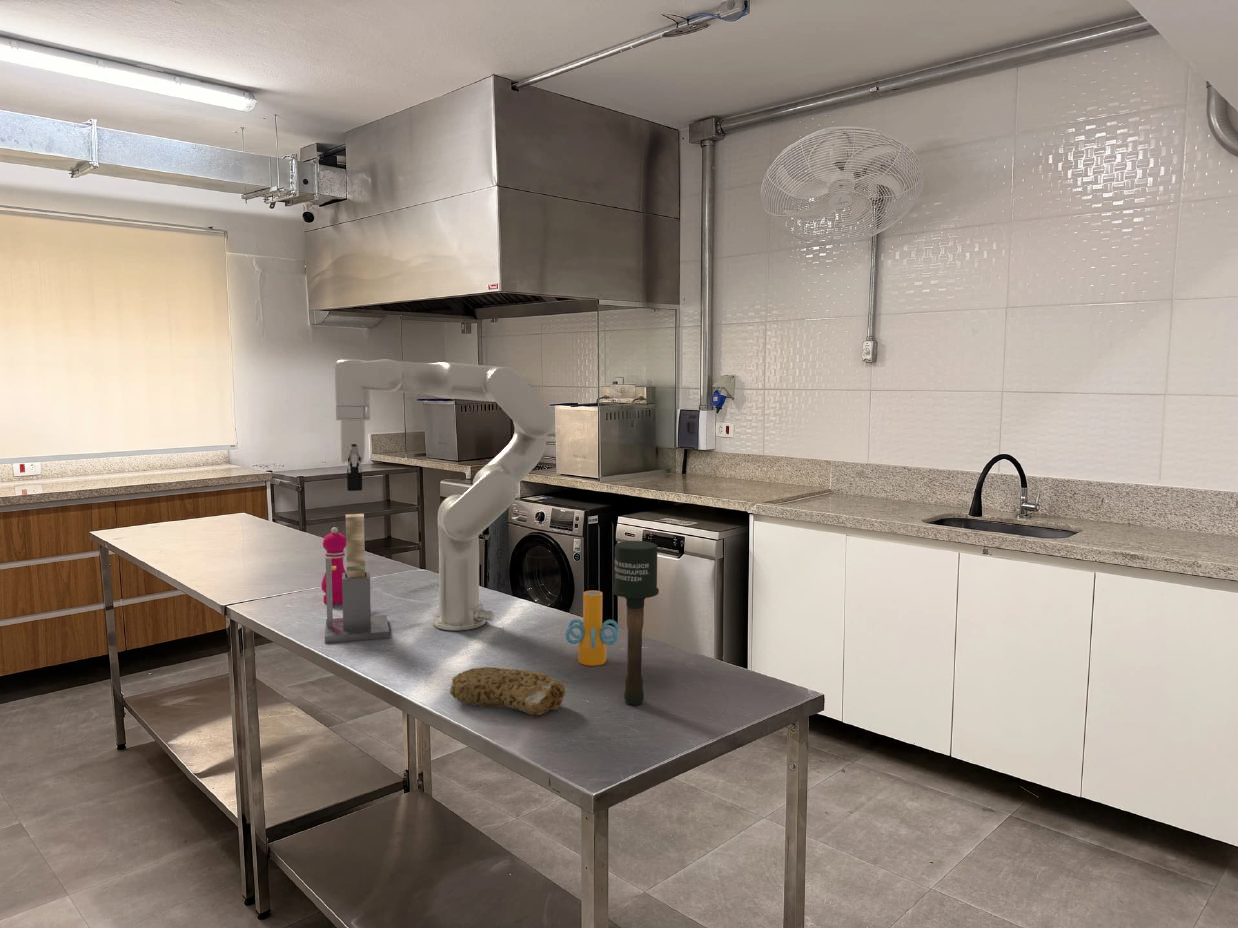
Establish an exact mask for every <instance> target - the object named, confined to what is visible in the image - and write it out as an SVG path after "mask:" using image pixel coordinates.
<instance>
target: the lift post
mask: <svg viewBox="0 0 1238 928" xmlns="http://www.w3.org/2000/svg"><path fill="white" fill-rule="evenodd" d="M345 538H346V547H345V549H346V551H345V553H346V573H347V578H358V577H365V572H366V555H365V554H366V553H365V552H366V551H365V550H366V549H365V544H366V543H365V515H364V513H348V514H345Z"/></svg>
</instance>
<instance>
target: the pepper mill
mask: <svg viewBox="0 0 1238 928" xmlns="http://www.w3.org/2000/svg"><path fill="white" fill-rule="evenodd" d="M330 532H331V533H329V534H326V536H324V538H323V541H322V547H323V548H324V550H325V552H324V554H325V555H324V557H325V558H326V557H331V566H336V570H332V605H340V604H342V605H343V592H342V573H347V570H346V568H345V567H344V566H345V565H344V557H345V556H346V554H345V553H346V551H345V549H346V535H344V534H342V533H340V532H339V529H338V527H335V526H334V527H332V528H331V529H330ZM320 588H321V590H322V592H323V593H324V595H323V603H324V604H326V605H327V595H326V571H325V573H324V575H323V578H322V580H321V587H320Z"/></svg>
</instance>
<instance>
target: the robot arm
mask: <svg viewBox="0 0 1238 928" xmlns="http://www.w3.org/2000/svg"><path fill="white" fill-rule="evenodd" d="M334 386H335V388H334V389H335V392H334V394H335V421H340V459H341V460H340V462H341V464H342V465H345V462H347V467H348V468H346V470H347V471H346V484H347V491H348V492H358V491H359V492H361V491H362V490H363V472H362V467H361V466H362V464H363V463H364V462H365V461H364V459H365V449H366V422H367V421H371V391H377V392H382V393H383V392H384V393H392V392H394V393H407V394H408V393H409V394H419V395H428V396H432V397H437V398H442V399H453V400H466V401H467V400H468V401H479V402H493V403H494V402H495V403H496V404H497V405H498V406H499V407H500V408H501V409H502V411H503V412H504V413H505V414H506V415H507V416H508V417H509V418H510V419H511V420H512V422H513V427H514V431H513V432H514V433H513V435H512V438H511V440H510V441H509V443H508V444H507V445H506V446H505V447H504V448H503V449H502V450H501V451H500V452H498V454H497V455H496V456H495V457H493V458H492V459H491V460H490V461H489V462H488V463H487V464H486V465H484V466H483V467H482V468H480V470H478V471H477V473H475V476H474V477H473V480H472V486H471V487H469V488H468V489H467V490H466V492H464V493H463V494H459V493H457V494H453V495H452V494H451V495H450V496H447V497H446V498H445V499H444V500H443V501H442V502H441V503H440V505H439V508H438V509H437V511H438V512H437V531H438V532H437V533H438V555H439V556H438V584H439V585H438V587H439V591H438V593H439V594H438V595H439V604H438V605H439V614H438V615H437V616H435V617H434V618H433V621H432V624H433V626H434V627H435V628H437V629H441V630H445V631H469V630H474V629H477V628H480V627H482V626H483V625H485V624H486V622H487V621H490V622H493V621H494V618H495V617H494V616H495V614H494V610H491V609H490V610H487V609H484V604H483V603H480V543H479V542H480V540H479V539H480V538H479V536H480V535H481V534H482V533H483V532H484V531H485V530H486V529H487V528H489V526H490V525H491V524H493V523H494V522H495V521H496V520H497V519H498V518H499V517H500V516H501V515H502V514H503V513H505V512H506V511H507V509H508V508H509V507H510V506H511V505H512V504H513V502H514V501H515V499H516V497H517V495H518V489H519V487H518V484H520V482H521V481H523V480H524V479H525V477H527V476H528V475H529V473H530V472H531V471H532V470H533V469H535V467H536V466H537V465H538V463H540V461H541V459H542V457H543V455H544V452H545V450H546V446H547V439H548V435H549V434H550V433H551V432H552V431H553V428H554V426H555V422H556V421H555V415H554V414H555V413H554V412H553V410H552V409H551V408H550V406H549V405H548V404H547V402H545V401H544V399H543V398H541V396H539V395H538V393H537V392H536V391H535V390H534V389H533V388H532V387H531V386H530V385H529V383H527V381H526V380H525V379H524V377H522V376H521V374H519V373H518V372H517V371H516V370H514V369H513V368H512V367H509V366H497V365H494V366H493V365H484V364H483V365H482V364H471V363H460V362H448V361H447V362H445V361H444V362H441V361H440V362H429V363H428V362H415V361H414V362H413V361H403V360H402V361H401V360H393V359H388V358H384V359H383V358H382V359H375V360H364V359H363V360H362V359H339V360H337V361H336V362H335V365H334Z"/></svg>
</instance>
